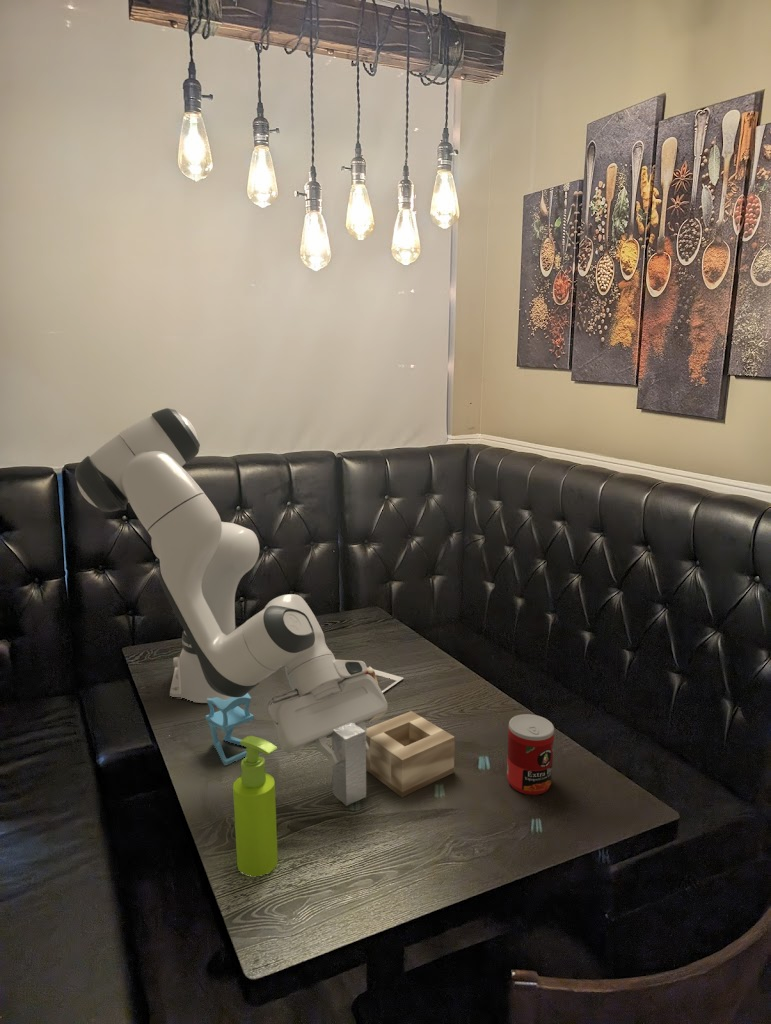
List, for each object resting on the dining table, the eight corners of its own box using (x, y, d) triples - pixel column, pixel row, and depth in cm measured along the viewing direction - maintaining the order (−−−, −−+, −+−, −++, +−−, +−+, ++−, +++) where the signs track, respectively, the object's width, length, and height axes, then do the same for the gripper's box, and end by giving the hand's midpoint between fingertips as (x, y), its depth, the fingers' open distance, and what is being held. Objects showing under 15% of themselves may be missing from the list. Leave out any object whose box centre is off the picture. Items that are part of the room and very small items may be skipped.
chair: (236, 734, 139) (233, 678, 136) (261, 750, 133) (258, 691, 131) (202, 749, 133) (198, 691, 131) (225, 766, 128) (222, 705, 125)
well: (360, 765, 128) (360, 730, 126) (411, 744, 135) (411, 710, 133) (402, 797, 118) (402, 760, 117) (453, 772, 126) (454, 736, 124)
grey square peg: (333, 794, 118) (331, 729, 115) (352, 785, 120) (351, 721, 117) (346, 805, 115) (345, 739, 112) (366, 796, 117) (365, 731, 114)
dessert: (331, 689, 159) (331, 669, 158) (362, 670, 169) (361, 651, 168) (375, 702, 153) (375, 682, 152) (404, 682, 162) (404, 663, 161)
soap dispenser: (264, 886, 98) (259, 757, 94) (228, 867, 102) (221, 743, 98) (291, 861, 103) (287, 738, 99) (256, 844, 107) (250, 725, 103)
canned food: (525, 800, 117) (528, 741, 115) (497, 776, 124) (499, 719, 122) (561, 788, 121) (564, 730, 119) (531, 765, 128) (534, 709, 125)
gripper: (269, 692, 112) (303, 775, 107) (371, 659, 124) (406, 731, 119) (257, 707, 117) (289, 787, 111) (357, 673, 129) (390, 744, 123)
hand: (351, 758), depth 115 cm, fingers closed on grey square peg, 4 cm apart
